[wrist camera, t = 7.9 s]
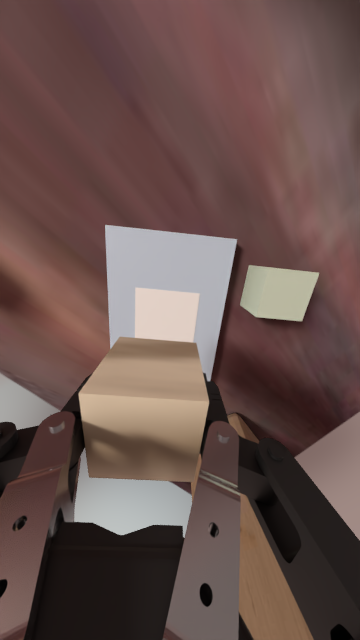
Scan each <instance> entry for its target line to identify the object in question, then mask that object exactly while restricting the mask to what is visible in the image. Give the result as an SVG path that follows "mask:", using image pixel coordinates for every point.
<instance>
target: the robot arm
mask: <svg viewBox="0 0 360 640" xmlns="http://www.w3.org/2000/svg"><path fill="white" fill-rule="evenodd" d="M92 374H93V373H92ZM92 374H91V375H92ZM91 375H90V376H88V377H87V378H86V379H85V380H84V381H83V383H82V384H81V386H80V387H79V388H78V389H77V391H76V392H75V393H74V394H73V396H72V397H71V398H70V400H69V401H68V402H67V404H66V405H65V406H64V408H63V409H62V410H61V412H58V413H55V414H53V415H51V416H49V417H47V418H46V419H45V420H44V421H42V423H41V424H40V425H39V426H35V427H30V428H25V429H20V430H17V429H16V426H15V424H13V423H11V422H2V423H0V640H254V639H253V637H252V635H251V633H250V631H249V629H248V628H247V626H246V624H245V622H244V620H243V618H242V617H241V615H240V613H239V568H240V508H241V496H240V493H241V494H244V495H246V496H247V498H248V500H249V503H250V505H251V507H252V509H253V511H254V513H255V515H256V517H257V520H258V522H259V524H260V526H261V528H262V530H263V532H264V535H265V537H266V539H267V541H268V543H269V545H270V547H271V549H272V552H273V554H274V556H275V558H276V560H277V562H278V564H279V567H280V569H281V571H282V573H283V575H284V577H285V579H286V581H287V584H288V586H289V588H290V590H291V592H292V594H293V596H294V599H295V601H296V603H297V605H298V607H299V609H300V611H301V613H302V616H303V618H304V620H305V622H306V624H307V626H308V628H309V631H310V633H311V635H312V637H313V639H314V640H360V541H359V539H358V538H357V537H356V536H355V534H354V533H353V532H352V531H351V529H350V528H349V527H348V526H347V524H346V523H345V522H344V520H343V519H342V518H341V517H340V515H339V514H338V513H337V511H336V510H335V509H334V508H333V506H332V505H331V504H330V503H329V502H328V500H327V499H326V498H325V496H324V495H323V494H322V493H321V491H320V490H319V489H318V487H317V486H316V485H315V484H314V482H313V481H312V480H311V479H310V477H309V476H308V475H307V473H306V472H305V471H304V470H303V468H302V467H301V466H300V465H299V463H298V462H297V461H296V459H295V458H294V457H293V456H292V454H291V453H290V452H289V451H288V449H287V448H286V447H285V446H284V445H282V444H281V443H280V442H278V441H276V440H274V439H271V438H263V439H261V440H260V441H259V443H256V442H253V441H250V440H248V439H245V438H243V437H241V436H240V435H238V433H237V431H236V430H235V429H234V428H233V427H232V426H231V425H230V424H229V421H228V417H227V414H226V411H225V408H224V405H223V401H222V398H221V395H220V392H219V389H218V387H217V385H216V384H215V383H214V382H213V381H207V377H206V373H203V376H204V380H205V385H206V389H207V394H208V398H209V406H208V411H207V416H206V421H205V426H204V432H203V437H202V442H201V447H200V452H199V454H201V460H202V462H201V466H200V471H199V475H198V479H197V484H196V489H195V493H194V498H193V502H192V507H191V512H190V516H189V521H188V525H187V530H186V534H185V538H184V537H183V528H182V526H170V525H152V526H149V527H146V528H143V529H140V530H137V531H135V532H131V533H128V534H125V535H117V534H115V533H113V532H111V531H109V530H107V529H105V528H103V527H100V526H98V525H96V524H94V523H81V522H74V507H75V499H76V491H77V483H78V476H79V469H80V461H81V458H80V456H81V453H82V452H83V449H84V448H85V441H84V433H83V425H82V417H81V409H80V401H79V392H80V390H81V389H82V388H83V386H84V385H85V384H86V382H87V381H88V380H89V378H90V377H91Z"/></svg>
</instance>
